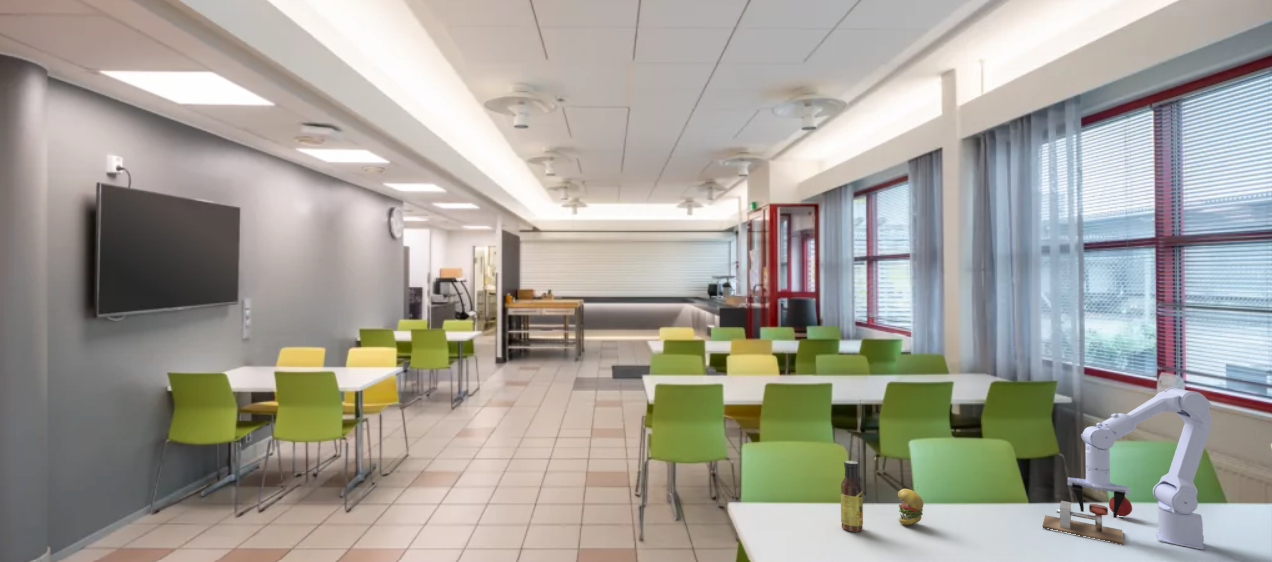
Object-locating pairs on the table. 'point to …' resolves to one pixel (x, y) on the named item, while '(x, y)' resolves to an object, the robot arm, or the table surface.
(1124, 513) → the onion
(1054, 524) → the board
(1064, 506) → the grey rectangular block
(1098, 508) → the red knob lever
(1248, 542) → the table surface
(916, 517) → the hamburger
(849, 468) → the sauce bottle
